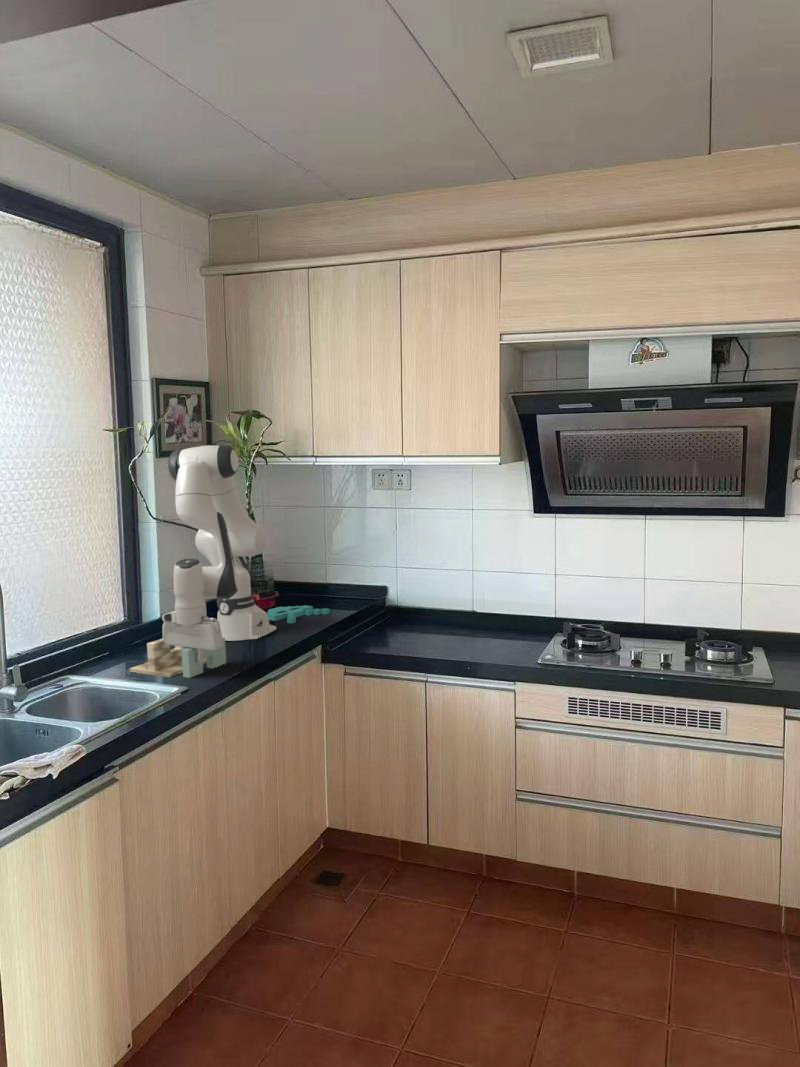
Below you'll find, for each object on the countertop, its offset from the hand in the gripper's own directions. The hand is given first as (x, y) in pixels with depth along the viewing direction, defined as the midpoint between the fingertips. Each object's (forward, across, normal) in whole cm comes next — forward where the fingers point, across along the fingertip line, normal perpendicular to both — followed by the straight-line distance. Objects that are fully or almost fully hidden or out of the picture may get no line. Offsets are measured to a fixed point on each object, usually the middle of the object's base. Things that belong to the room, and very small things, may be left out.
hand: (194, 662), depth 245 cm
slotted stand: (+4, +12, -4) cm, 14 cm away
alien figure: (+4, +20, -76) cm, 79 cm away
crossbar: (+4, 0, -4) cm, 6 cm away
